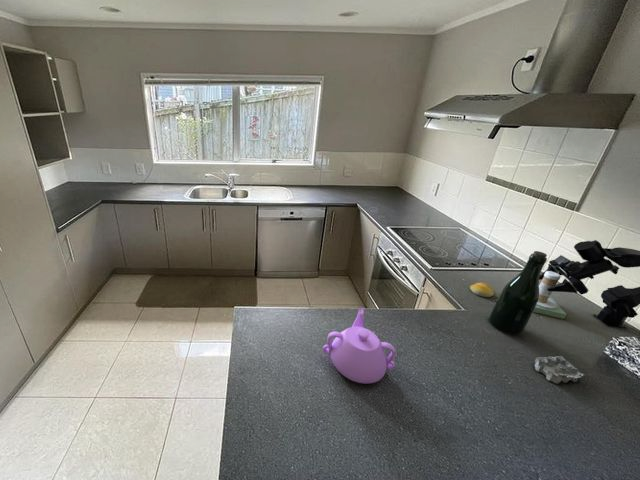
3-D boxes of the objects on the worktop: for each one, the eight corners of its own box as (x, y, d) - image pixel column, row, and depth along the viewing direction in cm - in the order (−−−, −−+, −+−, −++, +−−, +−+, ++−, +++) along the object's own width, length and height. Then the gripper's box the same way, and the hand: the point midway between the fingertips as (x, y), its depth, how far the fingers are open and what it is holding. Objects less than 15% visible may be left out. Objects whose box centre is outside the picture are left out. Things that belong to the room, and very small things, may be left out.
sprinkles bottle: (539, 296, 124) (552, 270, 119) (549, 303, 120) (564, 276, 114) (529, 296, 124) (542, 270, 118) (539, 303, 119) (553, 276, 114)
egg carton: (551, 384, 87) (557, 375, 85) (528, 364, 94) (533, 355, 92) (582, 383, 88) (589, 373, 86) (557, 362, 95) (562, 354, 93)
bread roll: (466, 289, 132) (468, 282, 131) (477, 285, 136) (480, 278, 134) (485, 300, 125) (488, 292, 124) (496, 295, 129) (499, 288, 127)
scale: (549, 302, 126) (552, 295, 124) (563, 318, 115) (567, 312, 114) (510, 293, 131) (513, 287, 129) (521, 309, 120) (524, 302, 119)
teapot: (385, 342, 100) (394, 312, 95) (396, 398, 81) (408, 364, 75) (323, 329, 105) (328, 299, 100) (319, 378, 86) (325, 345, 81)
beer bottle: (500, 315, 116) (534, 244, 103) (528, 333, 107) (569, 258, 94) (481, 319, 114) (513, 247, 101) (508, 338, 104) (547, 261, 91)
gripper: (564, 243, 119) (521, 259, 127) (592, 263, 103) (541, 281, 111) (580, 263, 119) (536, 278, 127) (610, 287, 103) (558, 302, 111)
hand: (542, 284), depth 119 cm, fingers open, 9 cm apart
